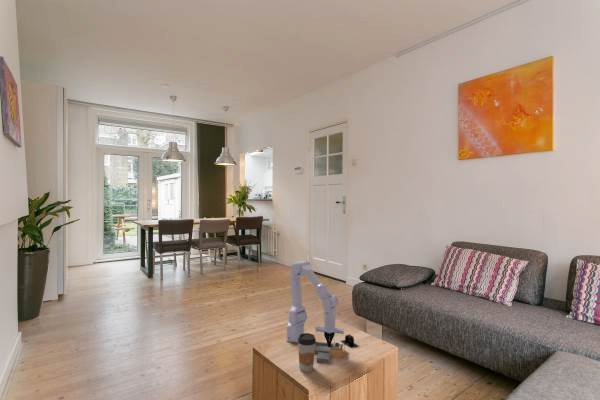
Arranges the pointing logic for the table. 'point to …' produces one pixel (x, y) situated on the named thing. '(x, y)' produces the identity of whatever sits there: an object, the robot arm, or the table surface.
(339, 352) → the rail
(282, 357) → the table surface
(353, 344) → the black boxy piece
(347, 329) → the table surface
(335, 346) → the metal block
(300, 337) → the coffee cup
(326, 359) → the gray square block
